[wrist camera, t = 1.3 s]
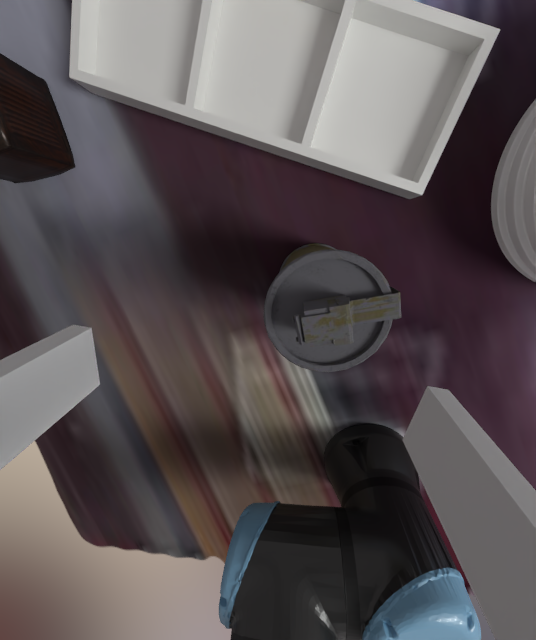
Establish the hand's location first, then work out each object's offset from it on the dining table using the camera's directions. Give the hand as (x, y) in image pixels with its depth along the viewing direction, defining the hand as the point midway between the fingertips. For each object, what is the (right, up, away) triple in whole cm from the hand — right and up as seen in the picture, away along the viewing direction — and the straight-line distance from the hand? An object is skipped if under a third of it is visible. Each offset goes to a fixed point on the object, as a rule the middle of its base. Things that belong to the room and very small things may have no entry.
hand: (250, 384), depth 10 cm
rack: (+1, +32, +20) cm, 37 cm away
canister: (+8, +8, +27) cm, 29 cm away
